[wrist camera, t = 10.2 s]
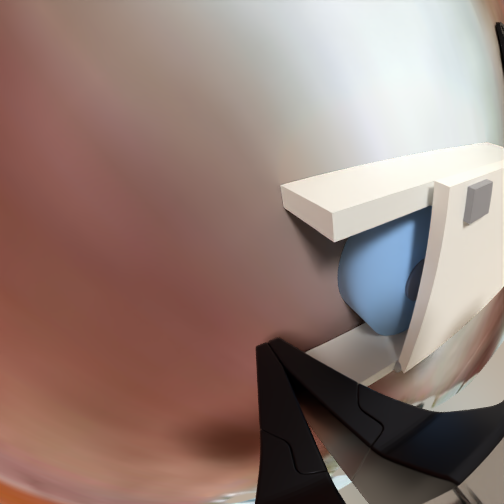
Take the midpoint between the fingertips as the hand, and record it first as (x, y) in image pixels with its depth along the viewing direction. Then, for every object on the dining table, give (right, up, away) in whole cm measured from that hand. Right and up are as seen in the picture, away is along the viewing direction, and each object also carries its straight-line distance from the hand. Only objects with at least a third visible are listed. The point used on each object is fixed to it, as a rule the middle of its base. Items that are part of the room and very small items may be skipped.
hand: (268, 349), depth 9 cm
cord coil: (+6, +3, +3) cm, 7 cm away
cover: (+11, +3, +1) cm, 11 cm away
